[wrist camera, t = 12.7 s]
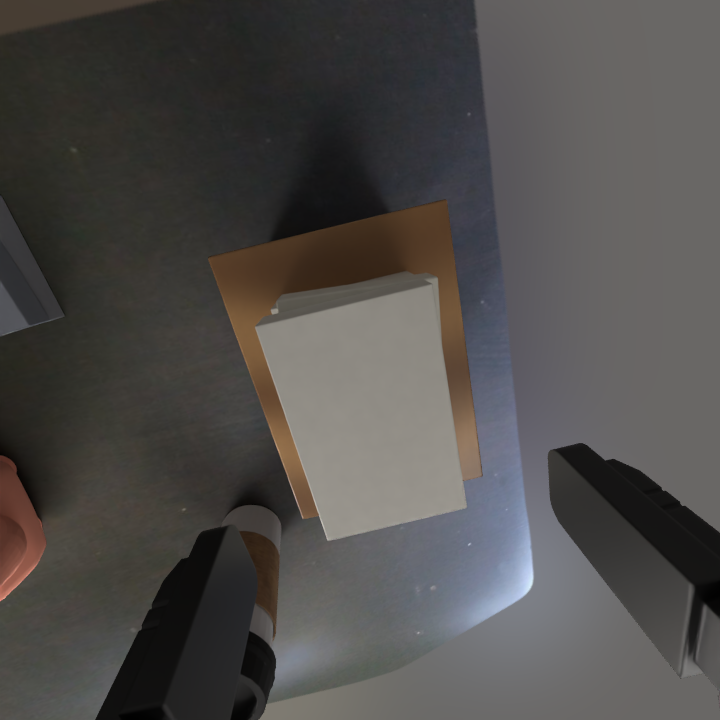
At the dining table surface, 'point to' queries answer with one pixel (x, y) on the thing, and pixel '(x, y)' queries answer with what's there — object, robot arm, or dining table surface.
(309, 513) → the shelf
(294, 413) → the white book
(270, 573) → the coffee cup
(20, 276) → the grey books
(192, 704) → the robot arm
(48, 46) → the dining table surface
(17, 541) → the teapot
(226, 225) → the dining table surface
